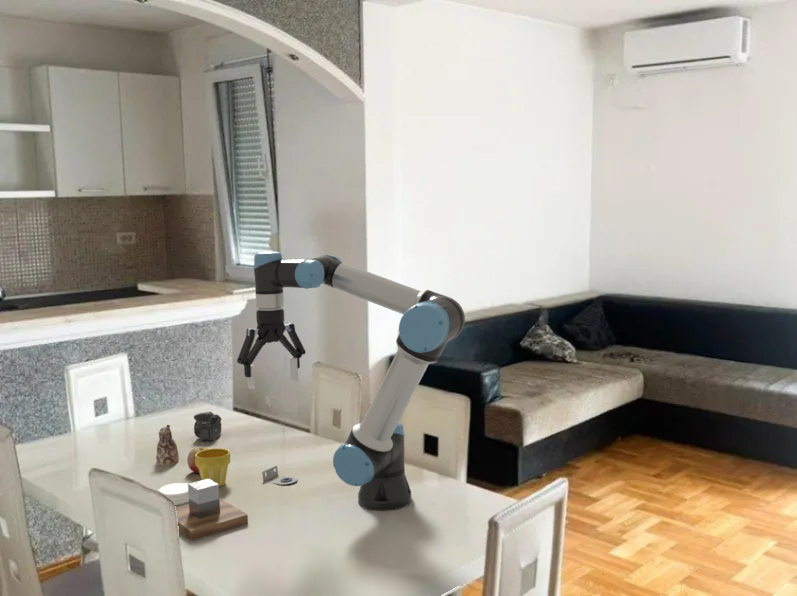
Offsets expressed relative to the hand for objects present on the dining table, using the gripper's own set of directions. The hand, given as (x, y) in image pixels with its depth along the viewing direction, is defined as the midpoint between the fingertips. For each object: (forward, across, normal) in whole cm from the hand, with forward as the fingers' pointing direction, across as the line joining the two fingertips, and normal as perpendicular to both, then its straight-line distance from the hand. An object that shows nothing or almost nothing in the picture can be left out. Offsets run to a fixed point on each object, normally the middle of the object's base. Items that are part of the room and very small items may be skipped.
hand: (273, 384), depth 223 cm
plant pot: (+35, +6, -28) cm, 45 cm away
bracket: (+35, -11, -17) cm, 41 cm away
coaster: (+35, +20, -24) cm, 47 cm away
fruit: (+35, +4, -41) cm, 54 cm away
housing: (+32, +21, -3) cm, 39 cm away
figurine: (+35, +8, -58) cm, 68 cm away
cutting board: (+35, +21, -3) cm, 41 cm away
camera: (+35, -14, -73) cm, 83 cm away
